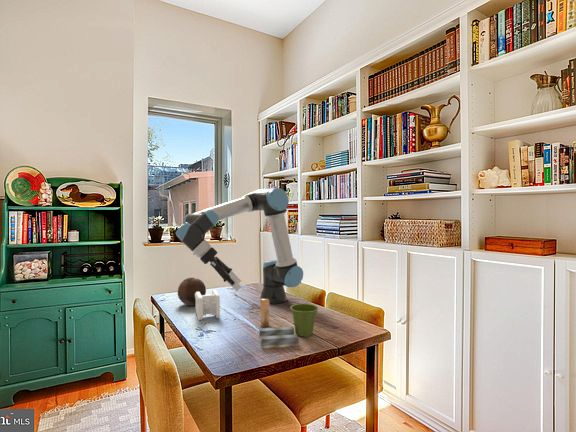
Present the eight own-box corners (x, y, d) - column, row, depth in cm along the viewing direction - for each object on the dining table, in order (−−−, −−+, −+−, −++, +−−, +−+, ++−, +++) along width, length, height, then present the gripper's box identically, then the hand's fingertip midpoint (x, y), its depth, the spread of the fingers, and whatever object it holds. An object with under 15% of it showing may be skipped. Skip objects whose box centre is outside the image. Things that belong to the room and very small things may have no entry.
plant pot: (297, 341, 138) (297, 313, 138) (285, 331, 149) (285, 305, 149) (323, 336, 143) (323, 309, 143) (310, 327, 154) (310, 302, 154)
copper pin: (264, 323, 159) (264, 297, 159) (271, 325, 157) (271, 299, 157) (258, 326, 156) (258, 299, 156) (265, 328, 154) (265, 301, 153)
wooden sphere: (210, 301, 198) (210, 275, 197) (199, 309, 183) (198, 281, 182) (185, 300, 200) (185, 274, 200) (172, 308, 185) (172, 280, 185)
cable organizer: (220, 319, 165) (220, 295, 165) (197, 322, 162) (197, 297, 162) (215, 311, 180) (215, 288, 179) (194, 313, 176) (194, 290, 176)
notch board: (261, 348, 131) (261, 339, 131) (259, 336, 143) (259, 328, 143) (297, 346, 133) (297, 337, 133) (292, 334, 145) (292, 326, 145)
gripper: (202, 255, 166) (233, 285, 168) (195, 262, 141) (232, 298, 143) (213, 243, 167) (244, 274, 169) (209, 249, 142) (245, 285, 144)
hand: (239, 285), depth 156 cm, fingers open, 13 cm apart
